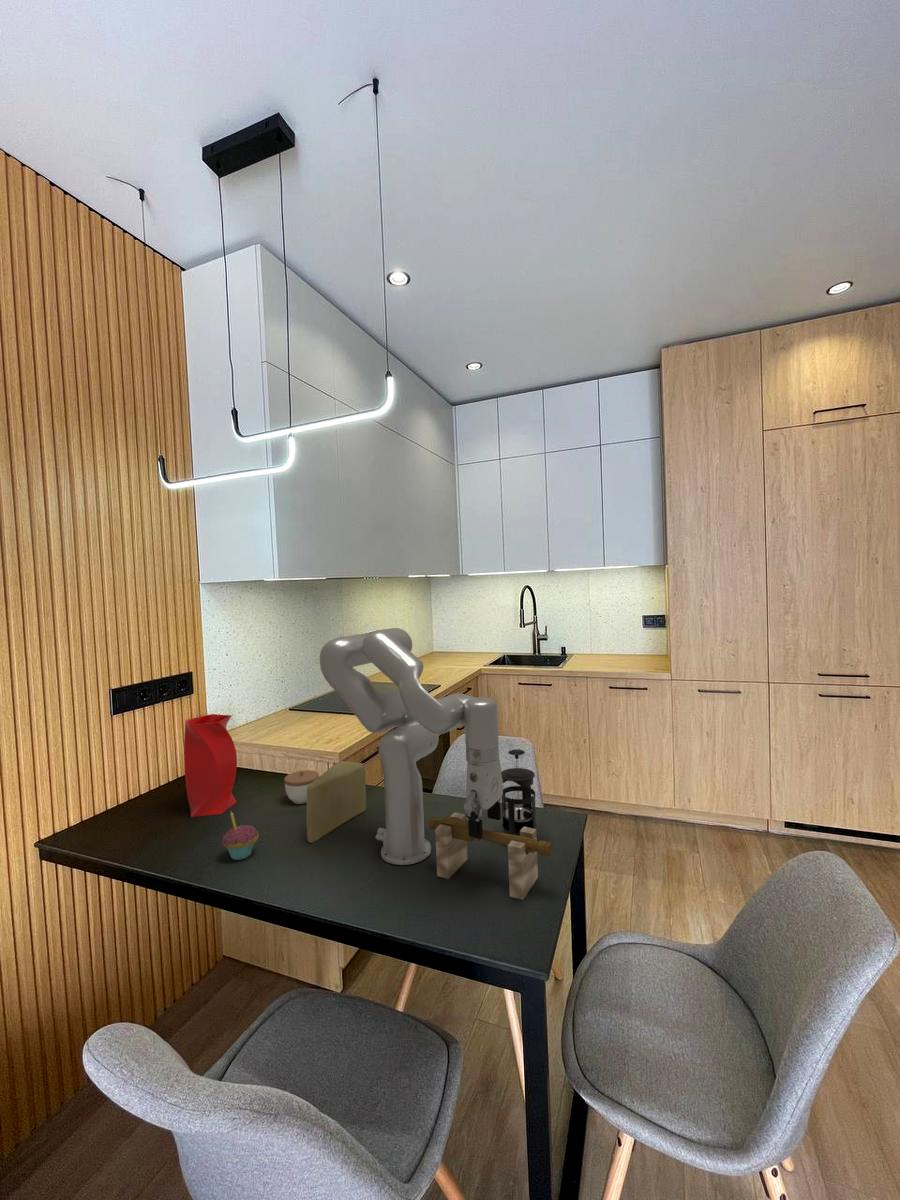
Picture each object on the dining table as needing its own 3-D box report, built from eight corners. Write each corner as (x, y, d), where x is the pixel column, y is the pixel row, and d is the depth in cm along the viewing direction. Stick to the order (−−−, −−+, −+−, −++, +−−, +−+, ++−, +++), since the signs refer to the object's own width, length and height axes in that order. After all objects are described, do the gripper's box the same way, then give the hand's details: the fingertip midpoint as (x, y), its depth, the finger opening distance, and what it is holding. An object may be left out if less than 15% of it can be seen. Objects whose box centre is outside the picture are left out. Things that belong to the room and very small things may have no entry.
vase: (244, 804, 162) (240, 716, 161) (201, 822, 149) (197, 728, 149) (216, 795, 170) (212, 712, 169) (173, 812, 158) (169, 722, 157)
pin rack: (437, 875, 117) (435, 828, 116) (456, 856, 125) (454, 812, 125) (523, 900, 106) (521, 848, 106) (538, 877, 115) (536, 829, 114)
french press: (527, 851, 126) (524, 759, 125) (494, 842, 131) (490, 754, 131) (545, 831, 136) (542, 746, 135) (514, 823, 141) (511, 741, 140)
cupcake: (224, 867, 124) (221, 819, 124) (222, 852, 132) (219, 806, 131) (261, 857, 128) (259, 810, 128) (257, 843, 136) (255, 798, 135)
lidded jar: (314, 806, 158) (313, 776, 158) (280, 807, 158) (279, 777, 158) (323, 792, 168) (322, 764, 168) (291, 793, 169) (290, 765, 168)
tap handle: (547, 845, 107) (426, 818, 121) (547, 860, 107) (426, 831, 122) (551, 839, 110) (432, 813, 124) (552, 853, 110) (433, 826, 124)
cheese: (324, 846, 133) (322, 789, 132) (294, 841, 136) (291, 785, 136) (368, 810, 153) (365, 761, 153) (340, 806, 157) (338, 758, 156)
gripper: (480, 767, 106) (483, 848, 106) (512, 744, 121) (514, 815, 121) (449, 763, 109) (452, 841, 110) (483, 740, 124) (486, 809, 125)
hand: (485, 827), depth 115 cm, fingers open, 9 cm apart
